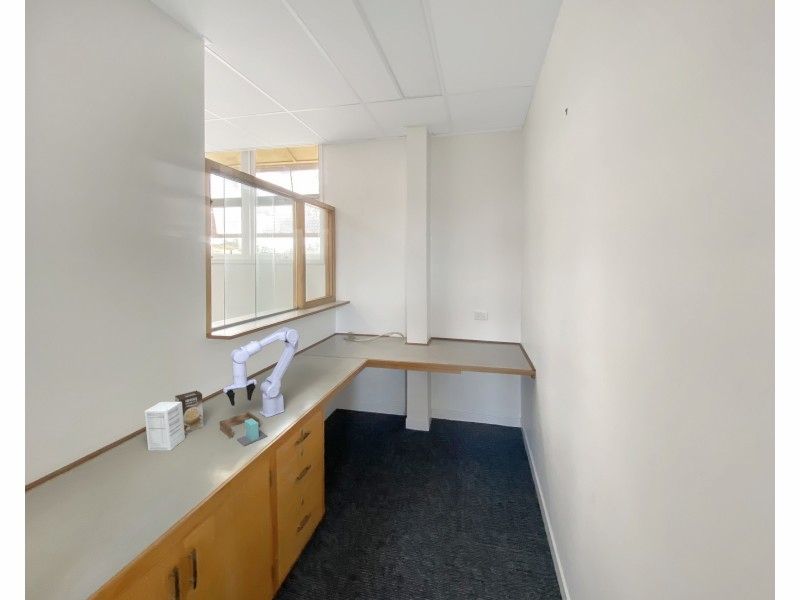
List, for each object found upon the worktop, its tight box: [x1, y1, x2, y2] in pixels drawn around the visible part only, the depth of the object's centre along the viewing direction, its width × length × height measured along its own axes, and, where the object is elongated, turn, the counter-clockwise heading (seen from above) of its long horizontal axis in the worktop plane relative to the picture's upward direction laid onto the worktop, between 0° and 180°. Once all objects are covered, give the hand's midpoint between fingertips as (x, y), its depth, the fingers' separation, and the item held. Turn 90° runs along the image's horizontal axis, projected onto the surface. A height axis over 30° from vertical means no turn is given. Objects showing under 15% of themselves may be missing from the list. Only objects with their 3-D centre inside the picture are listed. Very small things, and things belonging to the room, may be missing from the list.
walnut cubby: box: [219, 411, 260, 439], centre depth 149 cm, size 13×11×4 cm
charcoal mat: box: [236, 429, 268, 447], centre depth 141 cm, size 10×7×1 cm
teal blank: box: [244, 418, 259, 441], centre depth 141 cm, size 3×6×7 cm, turn 49°
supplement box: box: [144, 401, 186, 452], centre depth 135 cm, size 10×9×17 cm
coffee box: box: [174, 390, 205, 434], centre depth 148 cm, size 9×6×16 cm
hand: (241, 402), depth 155 cm, fingers open, 7 cm apart
